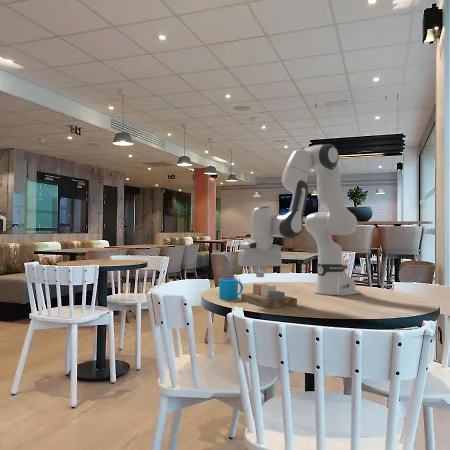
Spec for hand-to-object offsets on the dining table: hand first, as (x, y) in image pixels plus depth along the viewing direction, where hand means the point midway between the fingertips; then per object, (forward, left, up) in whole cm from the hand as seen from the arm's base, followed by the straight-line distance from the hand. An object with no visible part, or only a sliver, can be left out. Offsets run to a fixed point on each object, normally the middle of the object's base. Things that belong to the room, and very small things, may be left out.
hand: (259, 277), depth 181 cm
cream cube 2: (0, +6, -7) cm, 9 cm away
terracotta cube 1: (0, 0, -7) cm, 7 cm away
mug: (+7, -12, -10) cm, 17 cm away
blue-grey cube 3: (0, +12, -9) cm, 15 cm away
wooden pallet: (0, +6, -10) cm, 12 cm away
